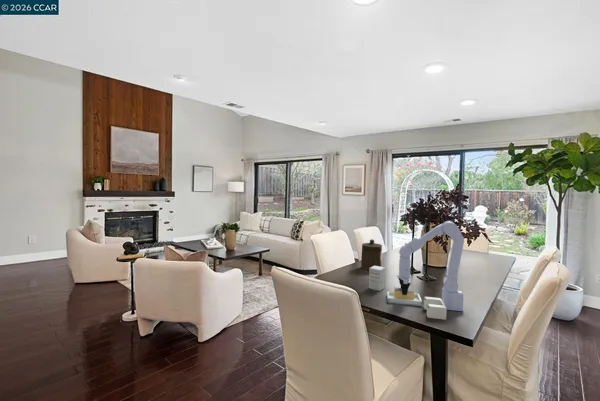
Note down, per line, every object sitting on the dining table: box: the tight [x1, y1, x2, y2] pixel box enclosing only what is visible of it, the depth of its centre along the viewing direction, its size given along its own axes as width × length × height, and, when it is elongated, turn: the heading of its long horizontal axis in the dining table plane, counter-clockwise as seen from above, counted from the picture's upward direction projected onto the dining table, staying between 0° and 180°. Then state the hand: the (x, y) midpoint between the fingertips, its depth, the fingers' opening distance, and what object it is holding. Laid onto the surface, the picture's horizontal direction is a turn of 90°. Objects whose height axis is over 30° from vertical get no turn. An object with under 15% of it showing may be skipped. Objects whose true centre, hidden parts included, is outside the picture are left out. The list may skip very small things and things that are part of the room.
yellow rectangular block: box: [393, 287, 415, 300], centre depth 163 cm, size 10×5×5 cm, turn 76°
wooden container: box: [360, 238, 383, 271], centre depth 227 cm, size 15×15×22 cm
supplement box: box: [368, 266, 386, 292], centre depth 182 cm, size 7×7×13 cm
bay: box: [422, 296, 448, 321], centre depth 147 cm, size 8×13×6 cm, turn 166°
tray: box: [386, 290, 423, 307], centre depth 163 cm, size 17×12×2 cm
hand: (403, 293), depth 163 cm, fingers closed on yellow rectangular block, 5 cm apart
